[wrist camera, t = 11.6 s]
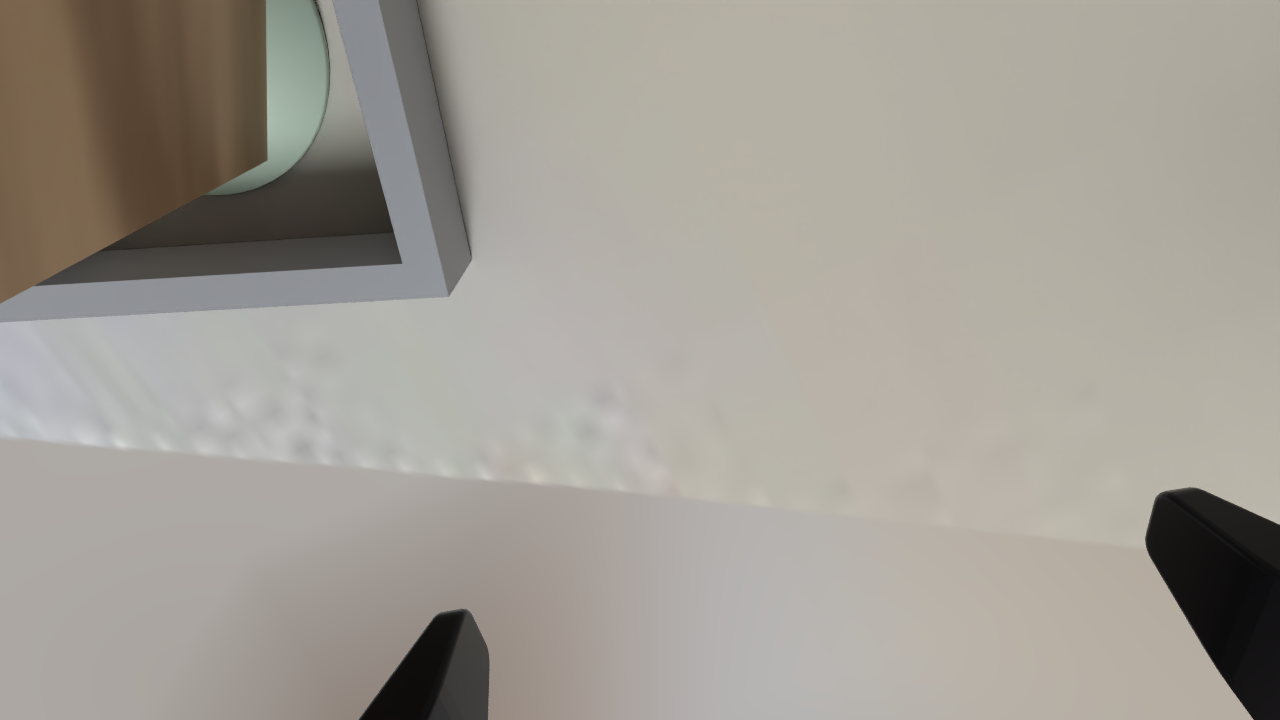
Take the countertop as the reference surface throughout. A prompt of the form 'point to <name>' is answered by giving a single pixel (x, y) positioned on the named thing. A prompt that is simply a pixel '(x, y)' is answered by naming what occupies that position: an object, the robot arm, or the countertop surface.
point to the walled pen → (296, 104)
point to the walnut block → (119, 119)
